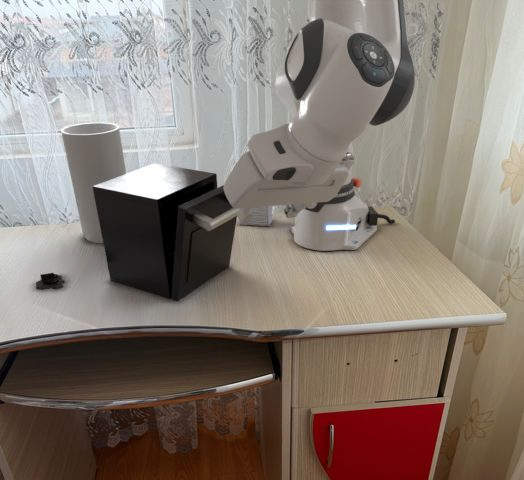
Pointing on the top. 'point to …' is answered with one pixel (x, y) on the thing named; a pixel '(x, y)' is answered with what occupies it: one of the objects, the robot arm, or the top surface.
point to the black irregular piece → (50, 281)
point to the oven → (146, 222)
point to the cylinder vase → (92, 167)
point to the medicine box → (260, 216)
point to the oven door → (202, 241)
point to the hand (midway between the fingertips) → (266, 216)
